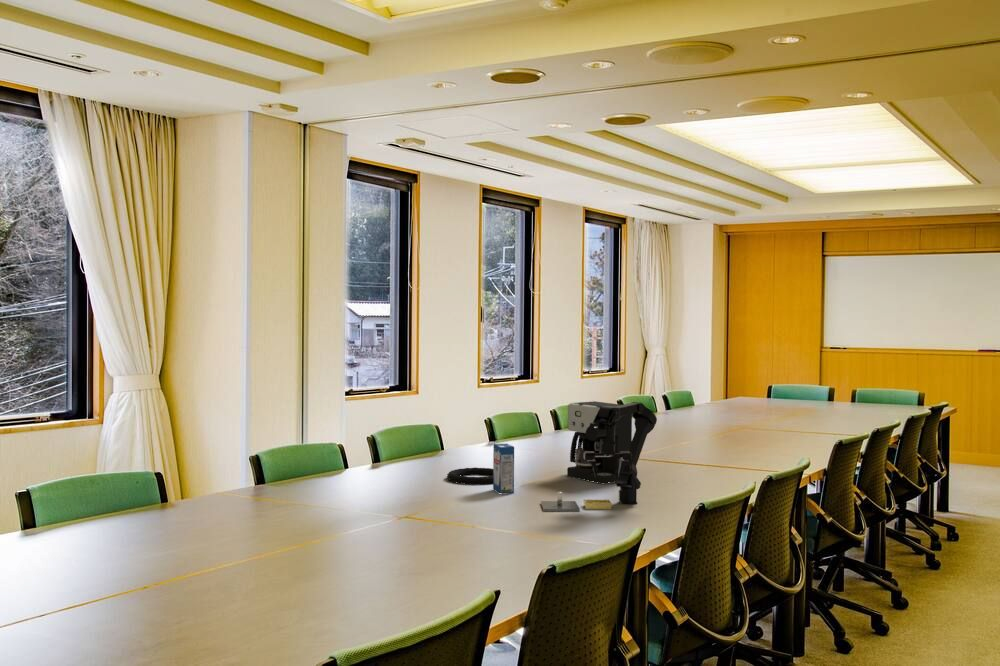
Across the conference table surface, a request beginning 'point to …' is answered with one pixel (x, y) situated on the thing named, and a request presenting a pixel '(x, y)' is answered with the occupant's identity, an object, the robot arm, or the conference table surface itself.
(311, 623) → the conference table surface
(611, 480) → the coffee maker
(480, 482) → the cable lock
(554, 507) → the keeper plate
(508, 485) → the milk carton
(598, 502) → the yellow rectangular frame
